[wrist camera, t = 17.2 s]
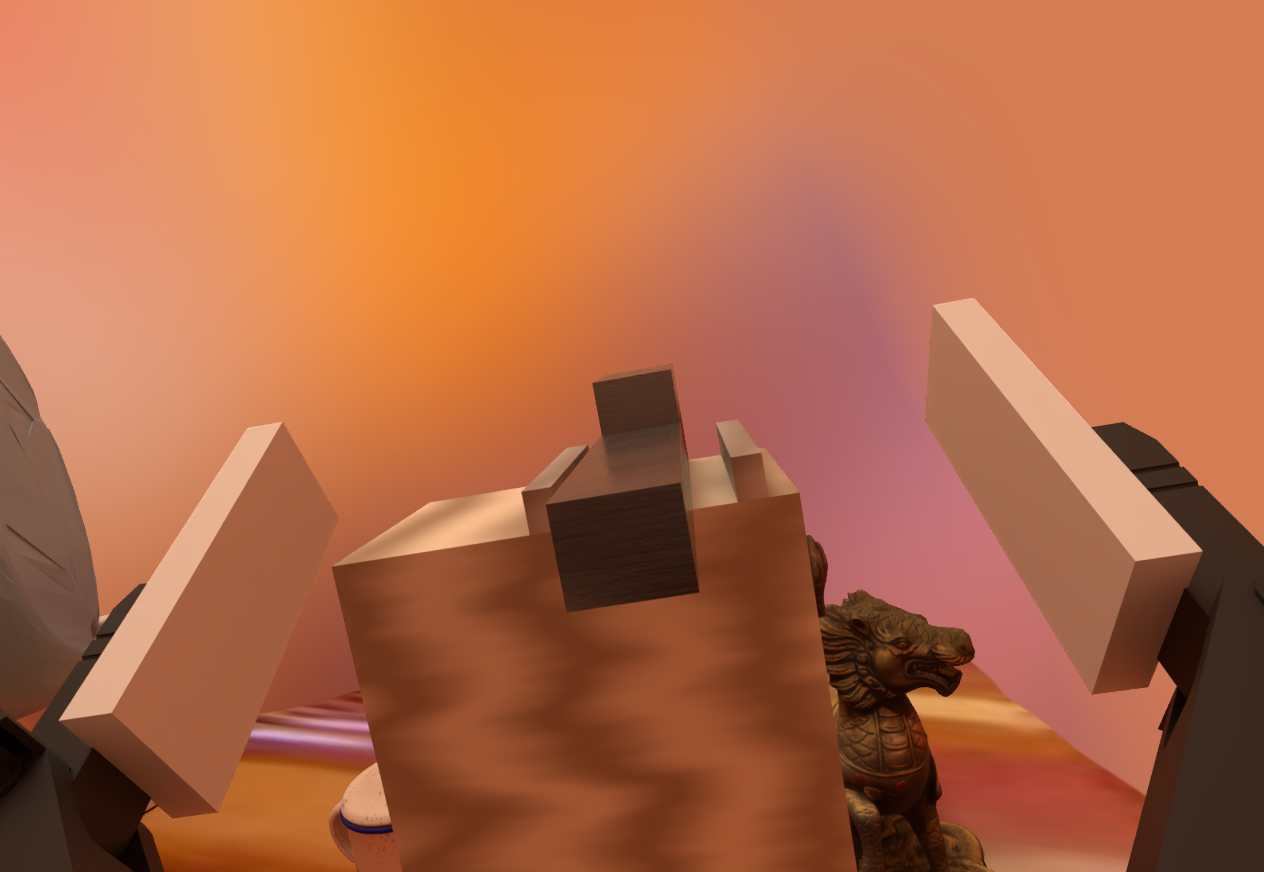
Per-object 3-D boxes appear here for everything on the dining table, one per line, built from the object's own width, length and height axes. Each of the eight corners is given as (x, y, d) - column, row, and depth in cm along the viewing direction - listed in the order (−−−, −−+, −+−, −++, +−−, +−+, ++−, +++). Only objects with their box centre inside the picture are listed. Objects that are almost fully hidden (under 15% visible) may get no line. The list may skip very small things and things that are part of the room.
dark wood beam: (549, 615, 17) (510, 418, 16) (616, 472, 34) (599, 376, 34) (699, 592, 16) (664, 391, 16) (688, 460, 34) (672, 363, 34)
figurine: (842, 1040, 37) (781, 657, 34) (765, 760, 62) (727, 526, 59) (1104, 1005, 36) (1060, 613, 34) (920, 736, 61) (887, 499, 59)
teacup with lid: (520, 857, 55) (489, 710, 53) (453, 959, 46) (415, 788, 45) (387, 847, 59) (355, 711, 57) (304, 939, 50) (264, 781, 49)
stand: (502, 1302, 29) (321, 524, 25) (547, 1055, 39) (423, 472, 35) (919, 1274, 27) (792, 447, 24) (855, 1026, 37) (759, 415, 34)
